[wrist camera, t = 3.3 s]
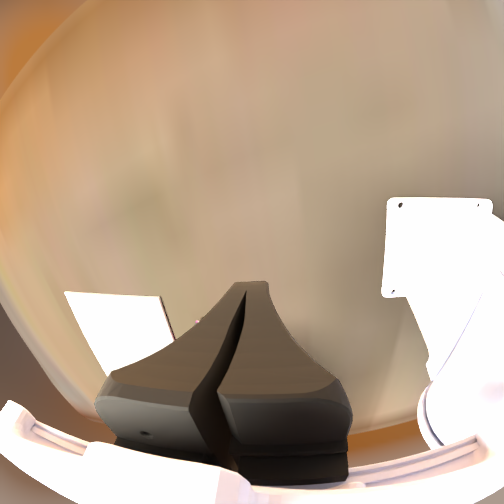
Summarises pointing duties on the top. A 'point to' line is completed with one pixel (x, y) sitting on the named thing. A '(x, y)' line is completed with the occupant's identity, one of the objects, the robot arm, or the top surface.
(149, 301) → the mat
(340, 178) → the top surface
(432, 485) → the robot arm
